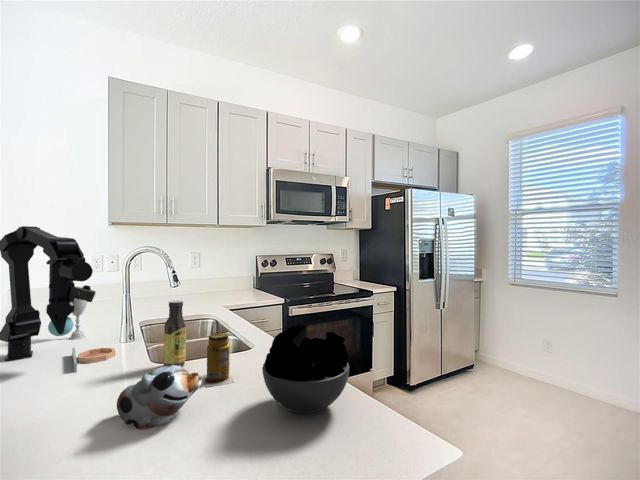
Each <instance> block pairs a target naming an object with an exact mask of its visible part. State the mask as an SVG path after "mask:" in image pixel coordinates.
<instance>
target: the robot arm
mask: <svg viewBox="0 0 640 480" xmlns="http://www.w3.org/2000/svg"><path fill="white" fill-rule="evenodd" d="M37 247H40V248H42V252H43V253H44V255H46V256H47V257H48V258H49V259H48V260H47V261H46V265H48V266H49V269H48V270H49V271H48V272H49V274H48V275H49V276H48V278H49V279H48V280H49V281H48V282H49V283H48V290H49V291H48V303H47V305H46V310H45V311H46V313H45V314H47V316H48V317H49V319H50V321H52V323H53V325H54V327H55V328H56V330H57V332H58V334H63V332H64V328H65V324H66V320H67V317H69V316H70V315H71V314H73V313H72V312H73V311H74V300H75V298H76V299H80V300H85V301H87V303H92V302H93V300H94V299H95V296H96V293H97V292H96V291H95V290H92V289H91V286H90V285H87V284H85V285H83V286H82V287H81V286H79V287H78V286H75V282H86V281H87V280H89V279H90V278H91V277H92V275H93V272H94V270H93V268H92V265H91V264H89V263H88V262H86V257H84V256H85V254H84V252H83V251H82V249H81V247H80V246H79V243H78V242H77V240H76V239H75V238H73V237H66V236H65V237H63V236H57V235H54V234H51V233H50V232H47V231H45V230H43V229H41V227H37V226H28V225H27V226H26V225H25V226H24V225H23V226H19V227H18V228H16V230H14V231H12V232H9V233H7V234H4V235H3V237H2V238H1V239H0V257H1V258H2V259H3V261H4V262H6V263H7V264H8V274H9V275H8V276H9V286H10V287H9V289H10V300H11V301H10V303H11V309H10V310H9V311H8V314H6V316H5V322H4V323H5V324H4V325H3V326H2V328H1V330H0V341H2V342H5V343H7V354H6V356H5V358H4V361H5V362H7V361H14V360H19V359H20V360H21V359H25V358H32V357H33V354H34V350H32V337H37V336H39V333H40V332H41V331H40V330H41V326H42V320H41V318H40V313H41V312H40V311H39V310H38V309H36V308H34V307H33V305H32V295H31V294H32V293H31V284H30V282H31V281H30V271H29V270H30V269H29V262H30V261H31V259H32V258H33V256H34V255H35V254H34V253H35V249H36V248H37Z"/></svg>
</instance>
